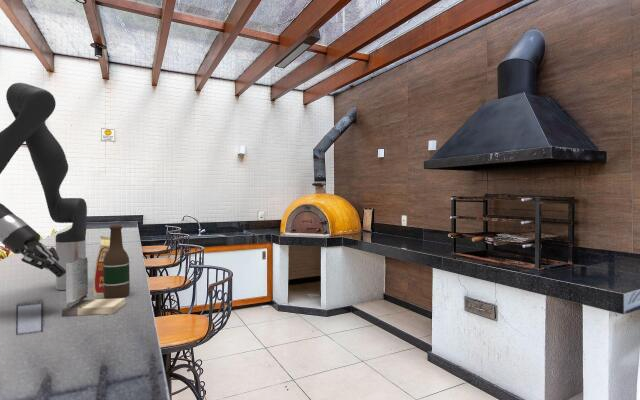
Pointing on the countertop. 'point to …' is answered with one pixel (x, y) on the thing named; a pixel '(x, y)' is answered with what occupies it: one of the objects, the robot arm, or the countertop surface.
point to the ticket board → (94, 307)
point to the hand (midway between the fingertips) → (62, 274)
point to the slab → (76, 281)
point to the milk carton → (100, 267)
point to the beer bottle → (116, 267)
